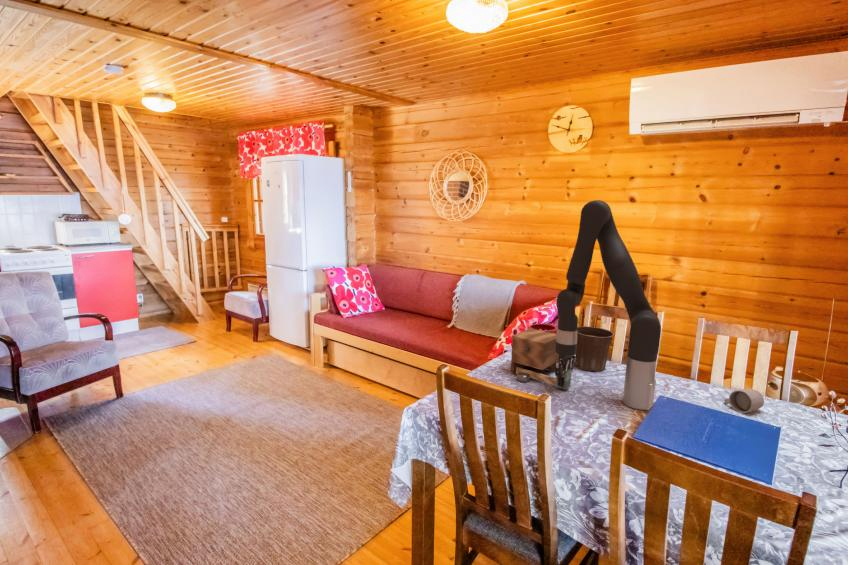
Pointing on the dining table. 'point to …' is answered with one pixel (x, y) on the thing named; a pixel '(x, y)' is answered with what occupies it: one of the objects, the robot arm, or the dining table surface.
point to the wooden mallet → (549, 377)
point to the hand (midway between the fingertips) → (563, 384)
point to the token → (523, 377)
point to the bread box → (534, 350)
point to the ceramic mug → (745, 400)
